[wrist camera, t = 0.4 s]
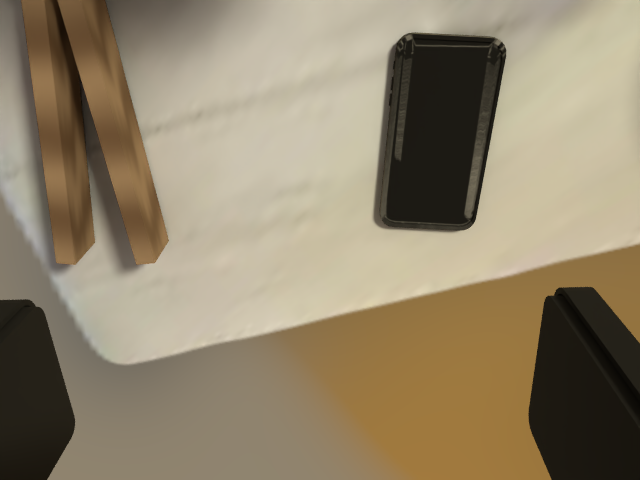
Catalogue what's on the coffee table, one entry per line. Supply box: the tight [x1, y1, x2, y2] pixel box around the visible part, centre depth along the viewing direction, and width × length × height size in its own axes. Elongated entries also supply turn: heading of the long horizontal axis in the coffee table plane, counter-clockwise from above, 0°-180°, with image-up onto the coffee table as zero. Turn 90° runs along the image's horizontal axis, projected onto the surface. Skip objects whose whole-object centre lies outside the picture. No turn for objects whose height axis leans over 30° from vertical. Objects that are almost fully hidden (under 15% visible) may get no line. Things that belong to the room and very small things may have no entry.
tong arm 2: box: [58, 0, 169, 265], centre depth 42 cm, size 20×2×4 cm, turn 7°
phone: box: [380, 33, 506, 231], centre depth 44 cm, size 8×1×15 cm
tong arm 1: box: [21, 0, 95, 265], centre depth 42 cm, size 20×2×4 cm, turn 175°
